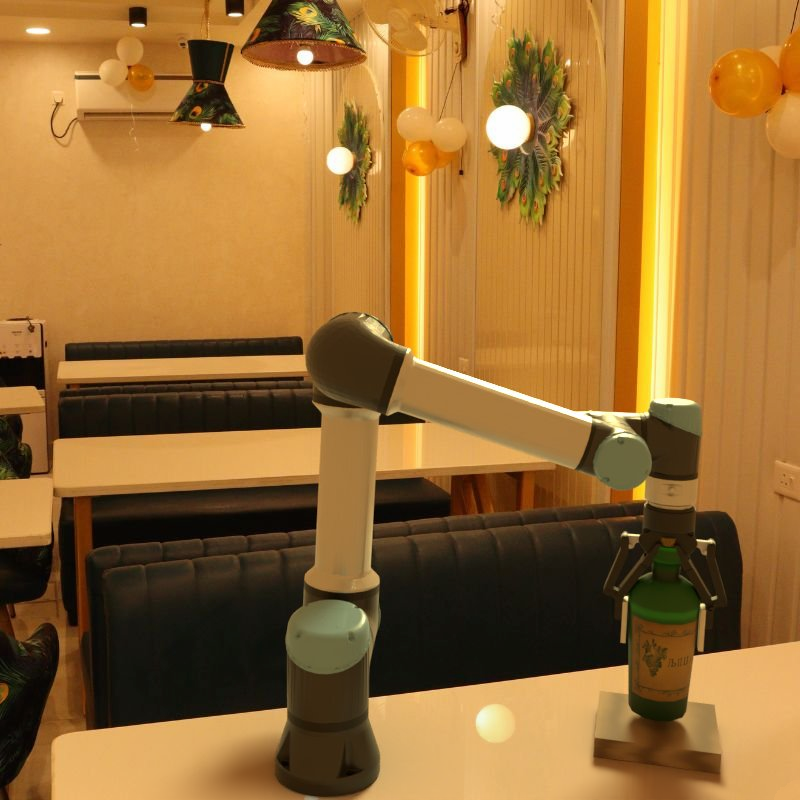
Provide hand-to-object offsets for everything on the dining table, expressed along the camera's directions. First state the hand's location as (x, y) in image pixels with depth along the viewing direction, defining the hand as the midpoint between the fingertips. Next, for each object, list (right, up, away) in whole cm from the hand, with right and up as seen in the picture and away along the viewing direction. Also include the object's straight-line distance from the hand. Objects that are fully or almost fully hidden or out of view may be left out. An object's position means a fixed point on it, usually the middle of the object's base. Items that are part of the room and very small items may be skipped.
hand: (661, 643), depth 152 cm
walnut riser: (0, -15, +3) cm, 16 cm away
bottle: (0, -11, +2) cm, 11 cm away
